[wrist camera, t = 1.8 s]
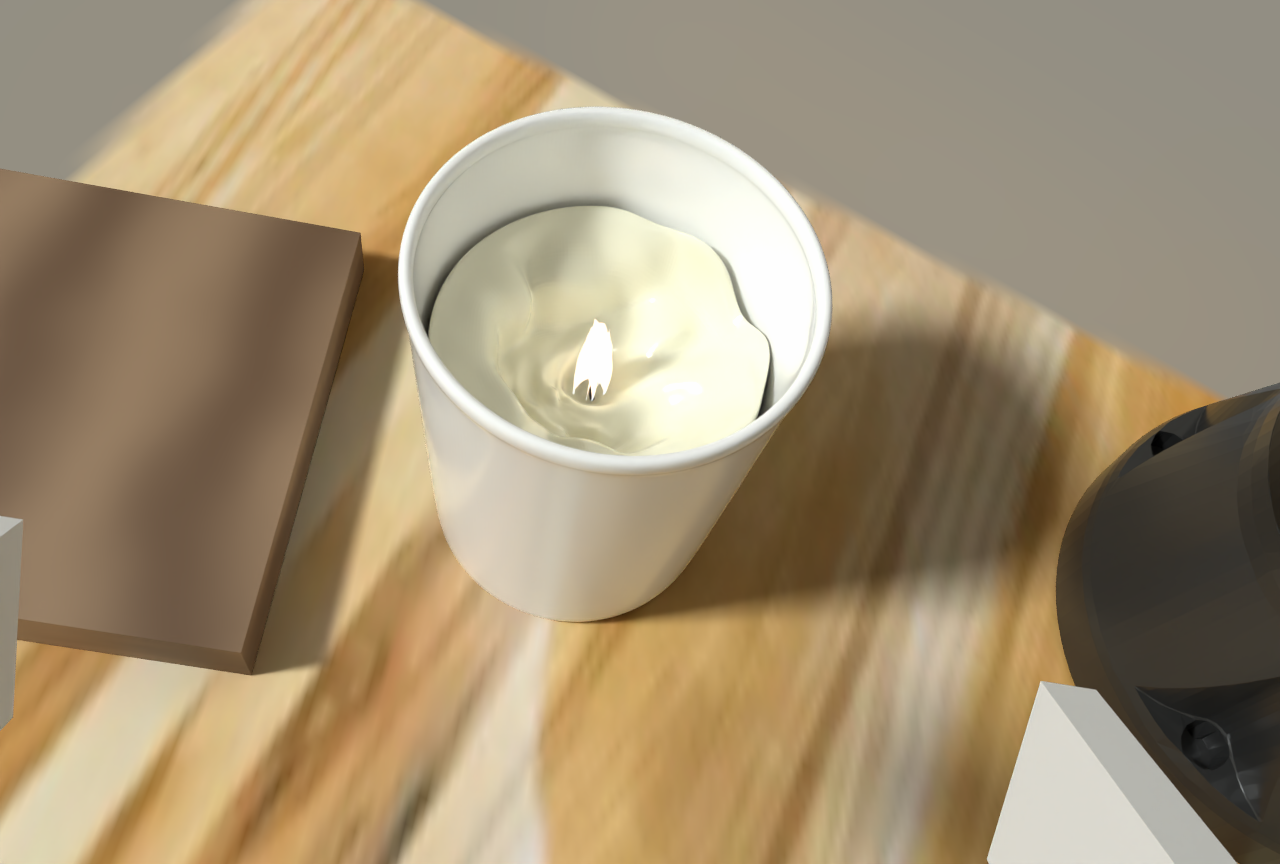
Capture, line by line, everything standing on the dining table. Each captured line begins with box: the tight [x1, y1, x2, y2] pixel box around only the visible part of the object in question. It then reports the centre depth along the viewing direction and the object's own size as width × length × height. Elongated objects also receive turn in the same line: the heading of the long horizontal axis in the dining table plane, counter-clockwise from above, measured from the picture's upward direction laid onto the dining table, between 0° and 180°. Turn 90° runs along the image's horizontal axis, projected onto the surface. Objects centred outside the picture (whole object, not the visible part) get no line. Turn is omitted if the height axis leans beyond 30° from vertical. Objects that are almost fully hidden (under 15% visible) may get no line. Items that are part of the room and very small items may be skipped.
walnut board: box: [0, 169, 364, 675], centre depth 36 cm, size 16×14×2 cm
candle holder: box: [398, 107, 832, 622], centre depth 33 cm, size 10×10×12 cm
